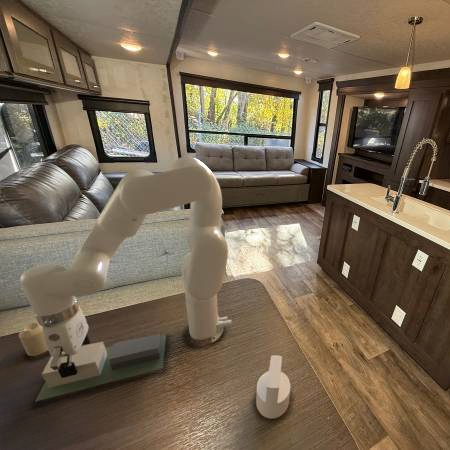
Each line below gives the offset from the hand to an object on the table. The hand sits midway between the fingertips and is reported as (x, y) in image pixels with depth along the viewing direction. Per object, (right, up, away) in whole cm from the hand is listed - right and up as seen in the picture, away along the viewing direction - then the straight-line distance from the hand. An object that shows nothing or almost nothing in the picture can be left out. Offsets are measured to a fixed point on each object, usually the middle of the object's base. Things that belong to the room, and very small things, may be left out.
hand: (77, 359), depth 68 cm
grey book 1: (+13, -1, +6) cm, 14 cm away
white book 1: (0, -1, 0) cm, 1 cm away
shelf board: (+6, -5, +5) cm, 9 cm away
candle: (-17, -2, +7) cm, 19 cm away
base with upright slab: (+54, -12, 0) cm, 55 cm away
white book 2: (0, -2, +1) cm, 2 cm away
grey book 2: (+12, -3, +7) cm, 14 cm away
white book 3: (-1, -4, +2) cm, 4 cm away
